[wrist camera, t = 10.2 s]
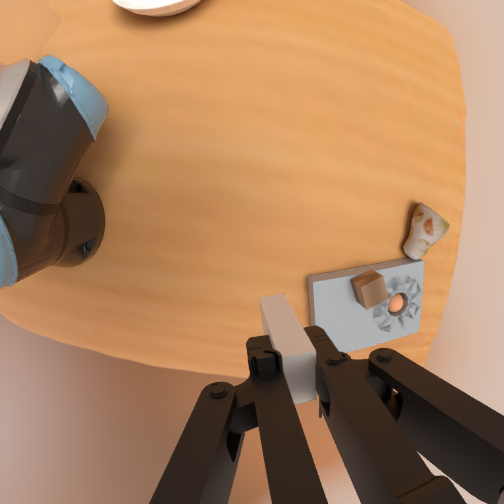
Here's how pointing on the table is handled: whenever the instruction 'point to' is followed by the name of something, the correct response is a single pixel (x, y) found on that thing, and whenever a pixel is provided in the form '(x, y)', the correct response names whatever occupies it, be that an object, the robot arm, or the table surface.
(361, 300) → the walnut cube
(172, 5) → the bowl
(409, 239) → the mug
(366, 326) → the grey flat block
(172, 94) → the table surface
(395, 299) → the ball
